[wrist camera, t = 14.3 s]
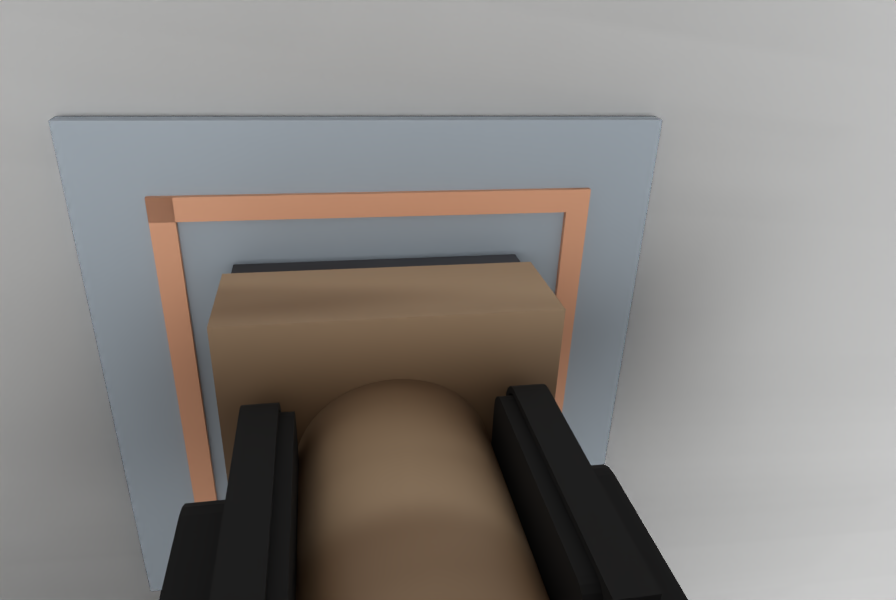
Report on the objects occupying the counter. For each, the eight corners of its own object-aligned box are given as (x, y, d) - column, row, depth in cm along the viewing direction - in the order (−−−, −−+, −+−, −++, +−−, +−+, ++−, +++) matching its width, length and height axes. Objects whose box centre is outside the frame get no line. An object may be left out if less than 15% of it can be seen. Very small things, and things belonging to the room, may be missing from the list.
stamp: (502, 473, 14) (741, 1112, 6) (253, 496, 13) (171, 1269, 5) (521, 248, 12) (922, 792, 4) (226, 259, 11) (23, 970, 3)
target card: (586, 532, 16) (592, 544, 16) (153, 579, 14) (149, 595, 14) (654, 115, 12) (665, 121, 11) (55, 116, 10) (46, 122, 10)
